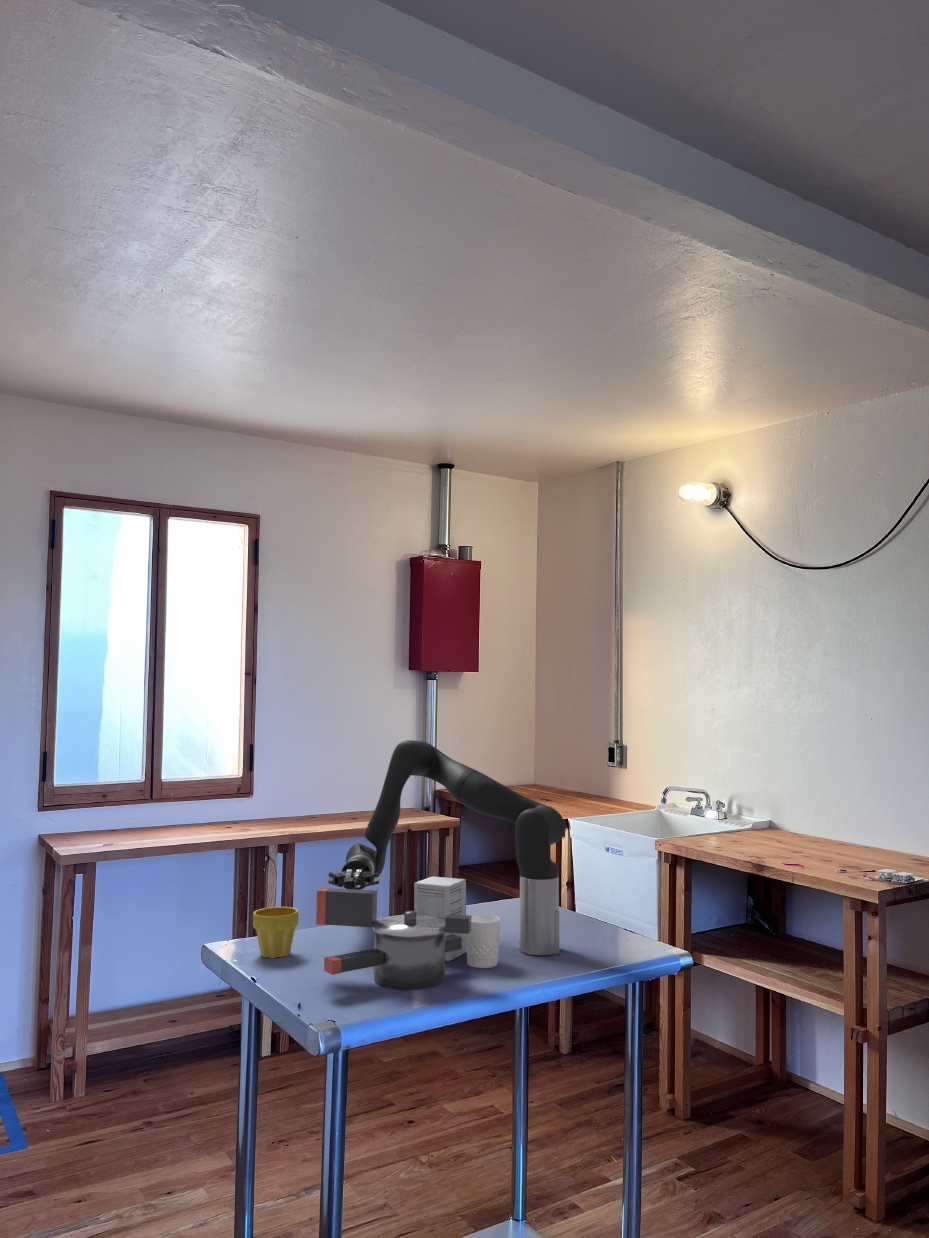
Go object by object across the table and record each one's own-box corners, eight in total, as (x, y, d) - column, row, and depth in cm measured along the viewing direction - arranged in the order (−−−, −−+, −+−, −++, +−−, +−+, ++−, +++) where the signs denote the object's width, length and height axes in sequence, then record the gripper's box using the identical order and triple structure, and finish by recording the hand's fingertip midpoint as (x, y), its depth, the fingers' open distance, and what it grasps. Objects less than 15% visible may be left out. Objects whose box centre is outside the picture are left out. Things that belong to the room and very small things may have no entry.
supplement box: (467, 952, 214) (468, 878, 215) (449, 962, 205) (450, 885, 207) (431, 947, 218) (432, 875, 219) (412, 956, 210) (413, 881, 211)
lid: (476, 923, 199) (476, 889, 200) (462, 941, 184) (462, 904, 184) (331, 915, 205) (331, 882, 206) (305, 932, 190) (306, 896, 191)
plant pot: (242, 954, 210) (244, 910, 211) (280, 945, 218) (281, 903, 219) (269, 963, 203) (270, 918, 204) (306, 954, 211) (307, 910, 212)
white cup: (488, 971, 199) (488, 924, 200) (458, 965, 203) (458, 919, 204) (506, 962, 205) (506, 917, 206) (476, 957, 209) (476, 912, 210)
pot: (462, 967, 202) (462, 920, 202) (455, 1001, 179) (456, 948, 180) (342, 964, 203) (343, 918, 204) (320, 997, 180) (322, 945, 181)
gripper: (332, 856, 231) (321, 868, 213) (384, 856, 231) (377, 869, 213) (331, 886, 230) (320, 901, 213) (384, 887, 230) (377, 902, 213)
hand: (349, 885), depth 213 cm, fingers closed
